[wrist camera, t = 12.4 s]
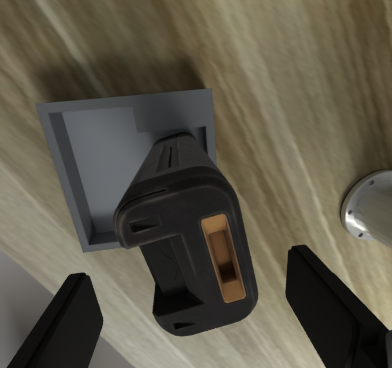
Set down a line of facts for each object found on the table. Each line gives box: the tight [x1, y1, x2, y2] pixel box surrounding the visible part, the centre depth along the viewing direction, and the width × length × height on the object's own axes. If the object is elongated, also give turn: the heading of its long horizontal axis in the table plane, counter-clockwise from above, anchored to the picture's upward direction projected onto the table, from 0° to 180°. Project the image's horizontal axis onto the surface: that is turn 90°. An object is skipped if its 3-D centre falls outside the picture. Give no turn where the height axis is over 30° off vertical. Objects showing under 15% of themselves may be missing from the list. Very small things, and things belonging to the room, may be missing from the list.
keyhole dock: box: [35, 88, 217, 253], centre depth 28 cm, size 19×19×4 cm
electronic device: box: [113, 132, 258, 336], centre depth 20 cm, size 9×6×20 cm, turn 15°
